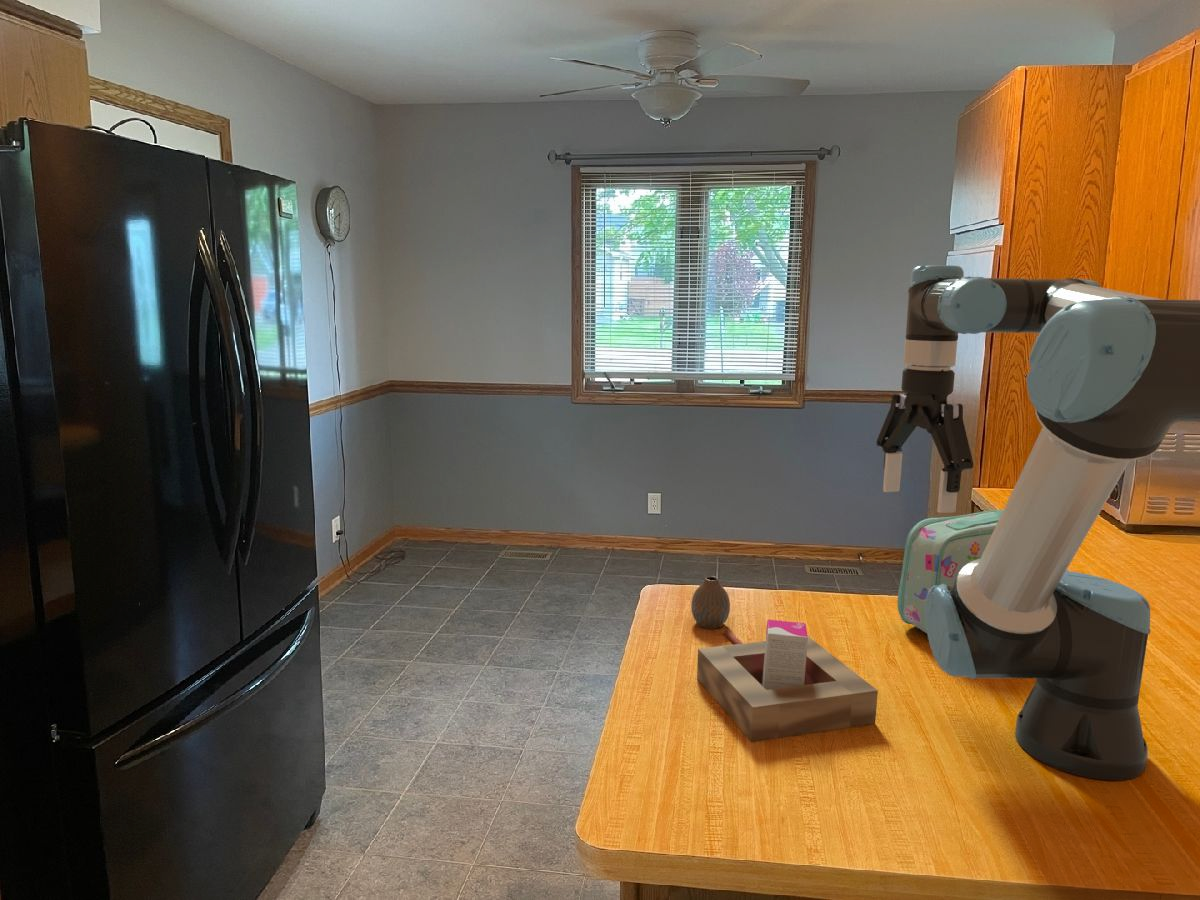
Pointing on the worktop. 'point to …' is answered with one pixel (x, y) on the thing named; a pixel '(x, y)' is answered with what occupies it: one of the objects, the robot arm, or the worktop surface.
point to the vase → (710, 604)
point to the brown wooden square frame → (785, 692)
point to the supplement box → (784, 654)
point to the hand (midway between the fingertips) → (917, 501)
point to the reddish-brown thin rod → (732, 637)
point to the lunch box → (940, 557)
